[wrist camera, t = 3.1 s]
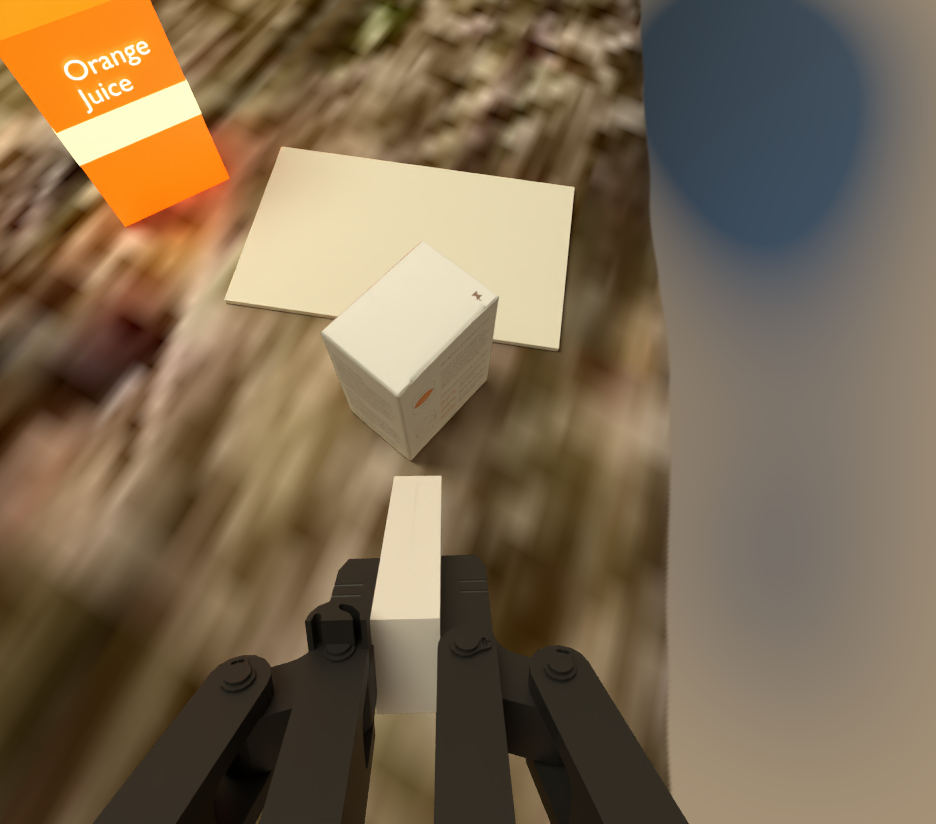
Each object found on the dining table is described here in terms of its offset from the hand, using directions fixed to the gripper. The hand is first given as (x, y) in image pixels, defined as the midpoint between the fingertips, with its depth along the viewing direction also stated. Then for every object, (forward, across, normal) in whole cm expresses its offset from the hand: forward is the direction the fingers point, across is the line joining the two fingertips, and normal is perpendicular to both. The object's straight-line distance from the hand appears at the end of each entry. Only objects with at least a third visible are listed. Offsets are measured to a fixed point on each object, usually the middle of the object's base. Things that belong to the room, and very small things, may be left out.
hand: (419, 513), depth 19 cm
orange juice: (+35, -22, +11) cm, 42 cm away
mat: (+30, -2, +6) cm, 30 cm away
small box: (+21, -1, -4) cm, 21 cm away
